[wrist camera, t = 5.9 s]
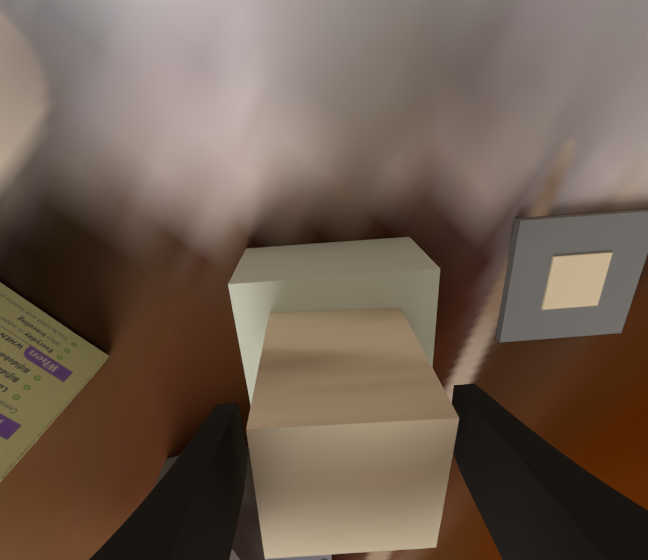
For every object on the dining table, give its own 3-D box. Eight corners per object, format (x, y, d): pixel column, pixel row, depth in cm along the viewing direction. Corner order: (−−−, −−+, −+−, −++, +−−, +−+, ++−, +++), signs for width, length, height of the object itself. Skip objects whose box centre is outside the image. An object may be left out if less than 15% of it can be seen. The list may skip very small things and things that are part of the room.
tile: (614, 328, 17) (622, 334, 17) (495, 337, 17) (501, 343, 17) (652, 208, 15) (663, 210, 14) (515, 218, 15) (521, 221, 14)
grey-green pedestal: (402, 366, 18) (427, 426, 14) (267, 376, 18) (257, 440, 14) (407, 235, 15) (440, 268, 11) (247, 246, 15) (228, 284, 11)
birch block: (392, 408, 14) (436, 547, 9) (278, 413, 14) (264, 558, 9) (400, 307, 12) (459, 418, 7) (269, 313, 12) (245, 429, 7)
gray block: (271, 488, 21) (262, 589, 16) (202, 507, 21) (174, 611, 17) (240, 436, 19) (220, 533, 14) (166, 458, 19) (123, 559, 15)
